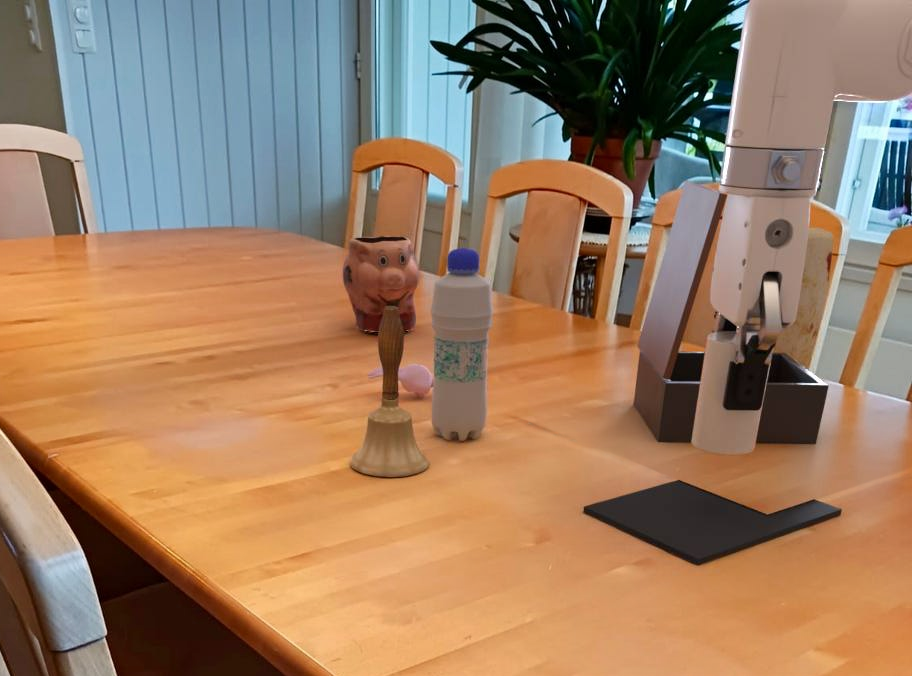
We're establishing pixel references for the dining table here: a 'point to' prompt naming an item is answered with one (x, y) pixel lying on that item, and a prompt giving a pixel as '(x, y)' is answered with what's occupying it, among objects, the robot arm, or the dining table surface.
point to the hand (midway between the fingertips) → (731, 396)
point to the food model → (808, 299)
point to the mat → (702, 520)
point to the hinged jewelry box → (783, 412)
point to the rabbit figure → (410, 378)
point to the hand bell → (390, 414)
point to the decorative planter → (381, 279)
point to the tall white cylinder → (712, 420)
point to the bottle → (460, 347)
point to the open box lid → (680, 275)
